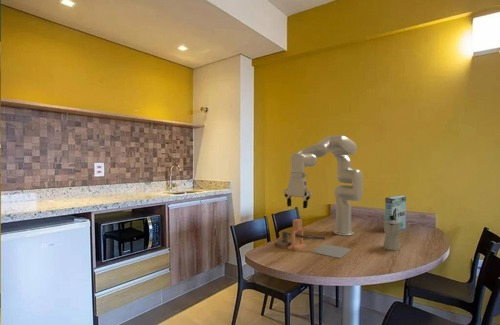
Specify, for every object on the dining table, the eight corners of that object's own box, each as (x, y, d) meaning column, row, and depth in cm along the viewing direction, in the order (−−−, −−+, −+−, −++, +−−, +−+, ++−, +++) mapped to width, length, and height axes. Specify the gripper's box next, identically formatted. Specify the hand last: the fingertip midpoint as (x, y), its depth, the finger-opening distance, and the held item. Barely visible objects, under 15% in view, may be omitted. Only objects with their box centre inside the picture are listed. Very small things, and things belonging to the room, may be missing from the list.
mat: (325, 244, 163) (325, 244, 163) (351, 250, 154) (351, 249, 154) (312, 252, 150) (312, 251, 150) (340, 258, 141) (340, 257, 141)
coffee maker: (400, 252, 149) (400, 218, 149) (381, 250, 154) (382, 216, 154) (401, 245, 163) (401, 213, 162) (384, 243, 167) (384, 212, 167)
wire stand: (284, 241, 169) (284, 229, 169) (325, 250, 153) (325, 236, 153) (274, 245, 161) (274, 232, 161) (317, 255, 145) (317, 240, 145)
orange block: (297, 244, 164) (297, 217, 164) (306, 246, 160) (306, 218, 160) (287, 248, 156) (287, 220, 156) (297, 251, 152) (297, 222, 152)
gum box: (399, 227, 206) (399, 195, 205) (406, 228, 202) (406, 196, 201) (384, 231, 194) (384, 197, 194) (391, 232, 190) (392, 198, 190)
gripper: (315, 176, 155) (314, 208, 155) (287, 175, 166) (286, 204, 166) (308, 176, 149) (308, 209, 149) (280, 175, 160) (279, 206, 160)
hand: (297, 207), depth 158 cm, fingers open, 9 cm apart
